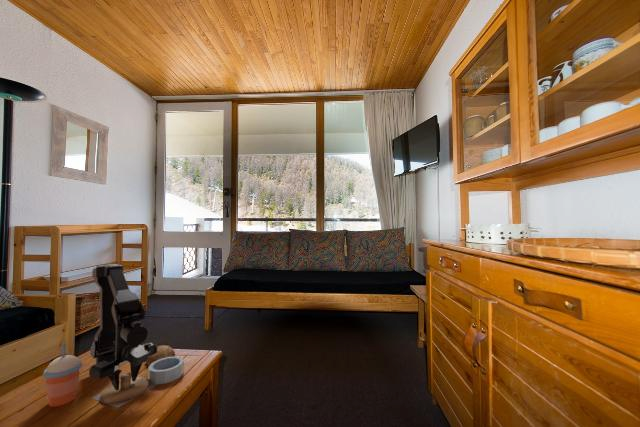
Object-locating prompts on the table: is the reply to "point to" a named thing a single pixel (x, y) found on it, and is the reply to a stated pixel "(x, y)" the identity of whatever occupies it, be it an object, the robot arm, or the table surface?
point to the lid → (125, 389)
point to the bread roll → (161, 354)
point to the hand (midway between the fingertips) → (125, 385)
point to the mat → (98, 398)
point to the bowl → (165, 370)
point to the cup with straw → (62, 378)
